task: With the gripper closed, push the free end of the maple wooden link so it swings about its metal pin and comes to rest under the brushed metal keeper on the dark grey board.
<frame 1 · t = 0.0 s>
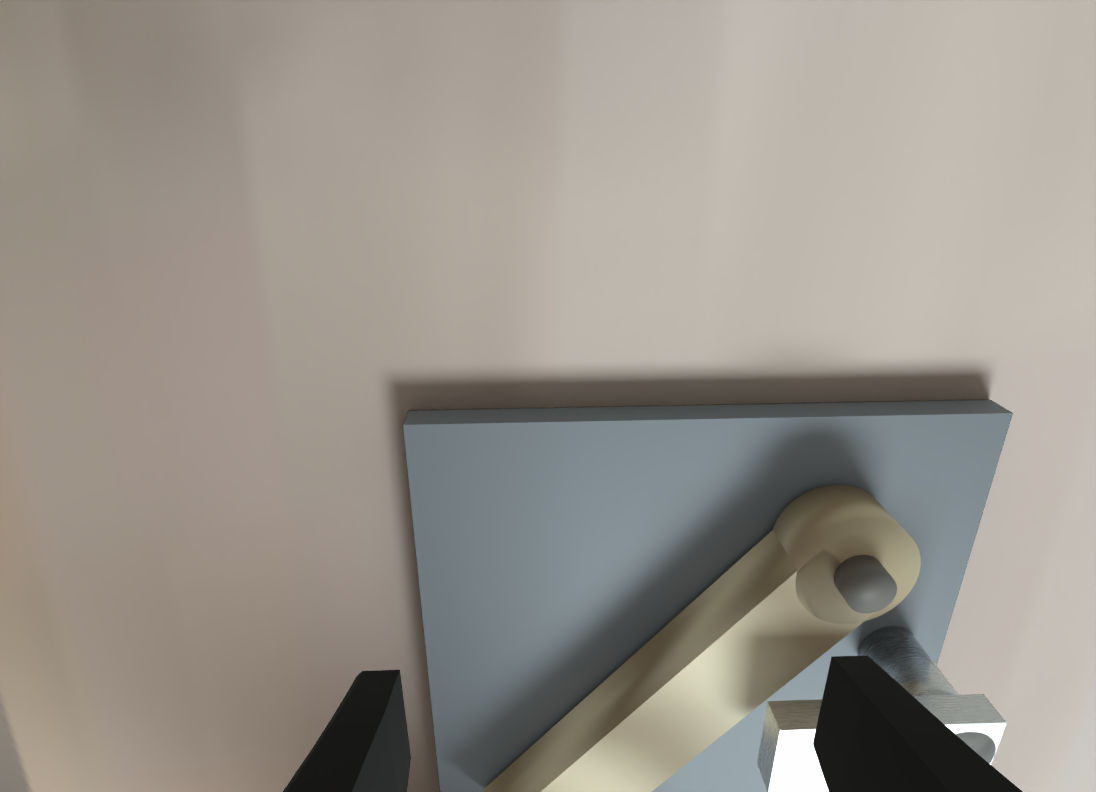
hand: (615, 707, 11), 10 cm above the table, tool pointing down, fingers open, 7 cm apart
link: (681, 702, 21), point 3 cm above the table, hinge at -40.0°
keeper: (872, 627, 24), resting on board
board: (678, 664, 24), on the table
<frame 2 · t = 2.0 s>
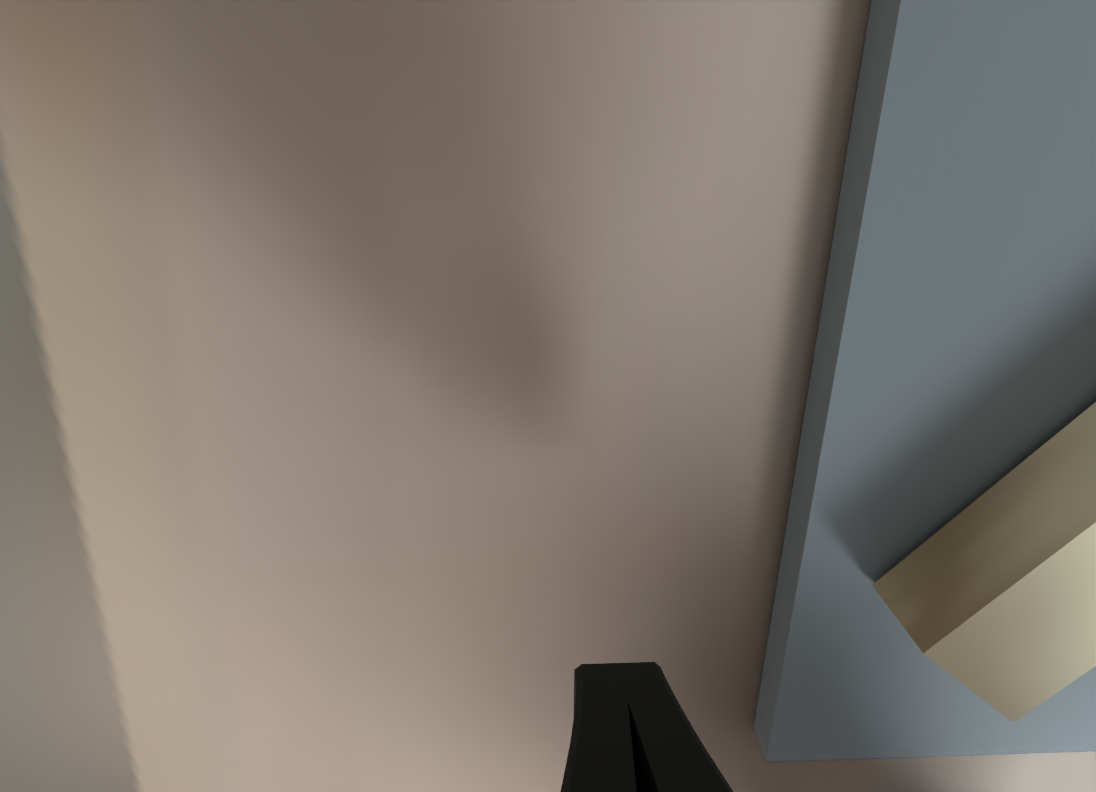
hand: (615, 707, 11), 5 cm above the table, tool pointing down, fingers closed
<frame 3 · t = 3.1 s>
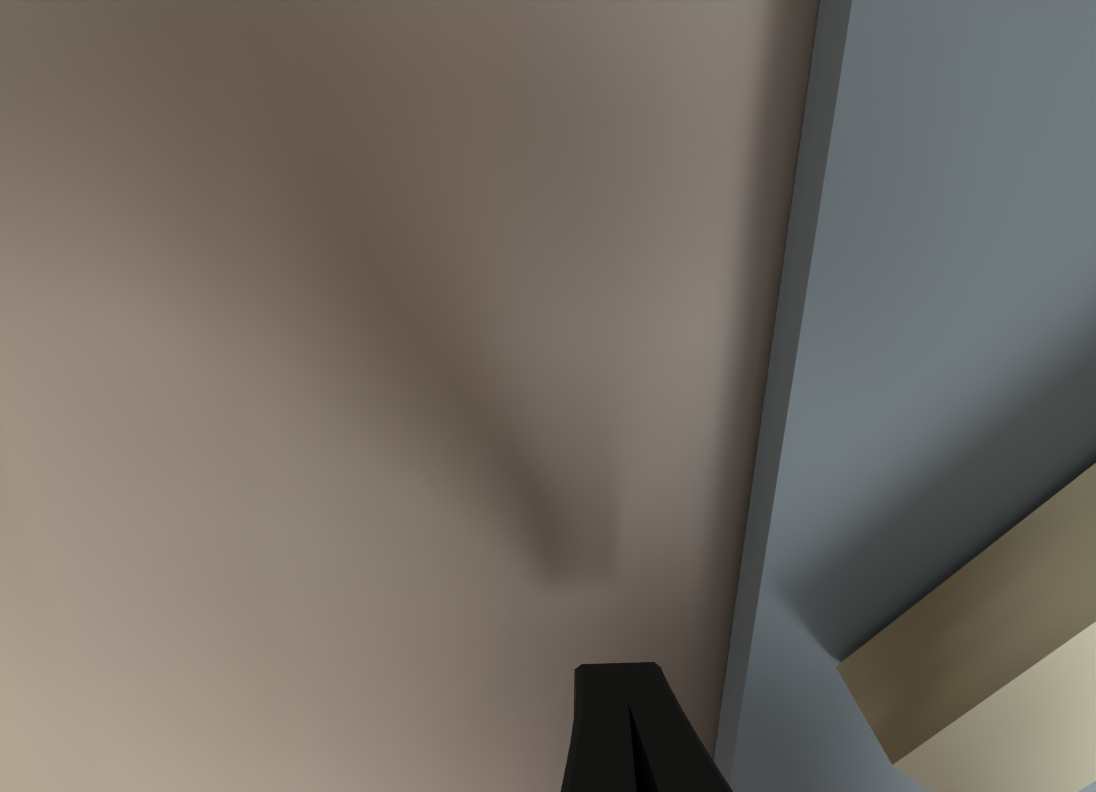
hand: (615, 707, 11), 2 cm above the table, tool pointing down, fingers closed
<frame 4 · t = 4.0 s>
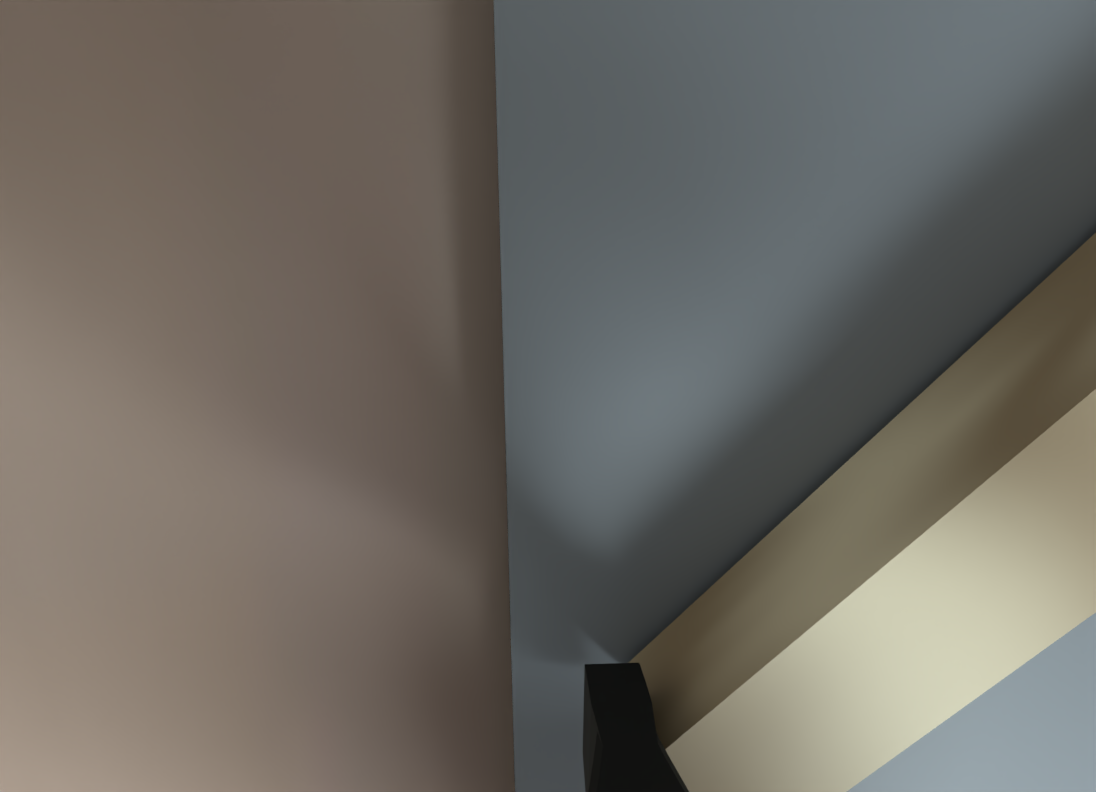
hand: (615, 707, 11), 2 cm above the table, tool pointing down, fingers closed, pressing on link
board: (1035, 381, 11), on the table
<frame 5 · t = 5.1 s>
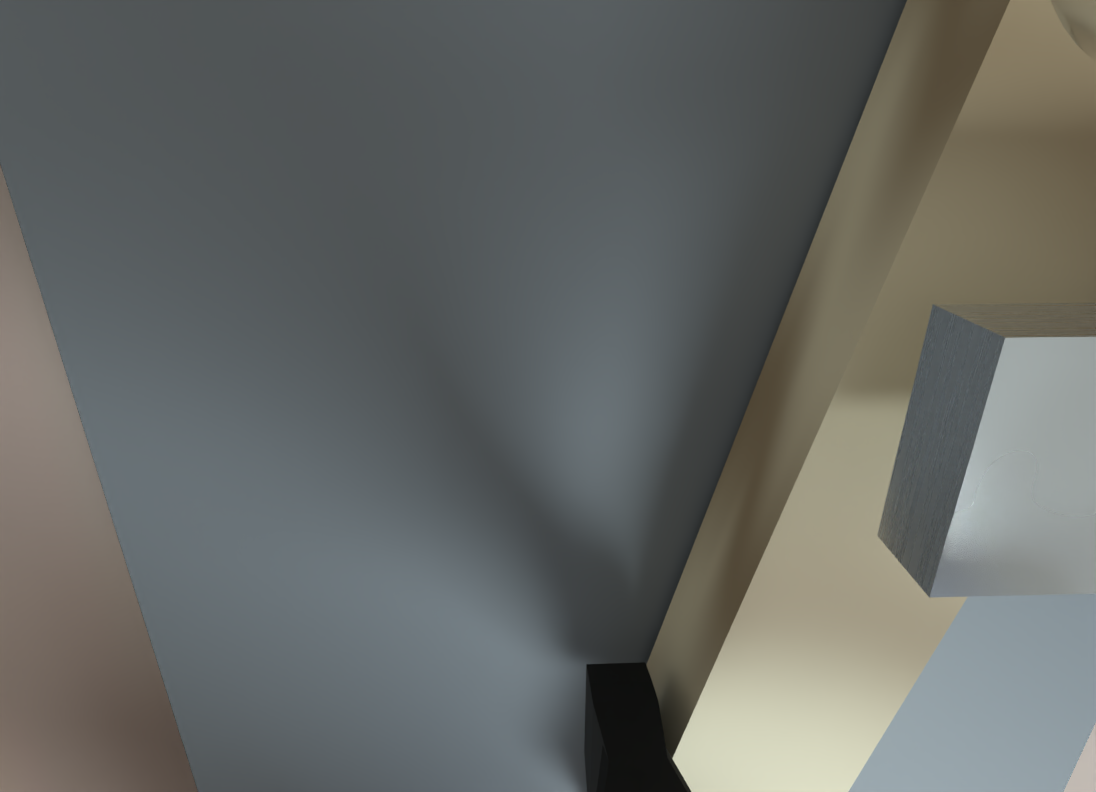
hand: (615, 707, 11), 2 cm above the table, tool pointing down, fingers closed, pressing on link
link: (870, 501, 9), point 3 cm above the table, hinge at -13.4°, touching gripper
keeper: (1095, 310, 11), resting on board
board: (664, 400, 11), on the table
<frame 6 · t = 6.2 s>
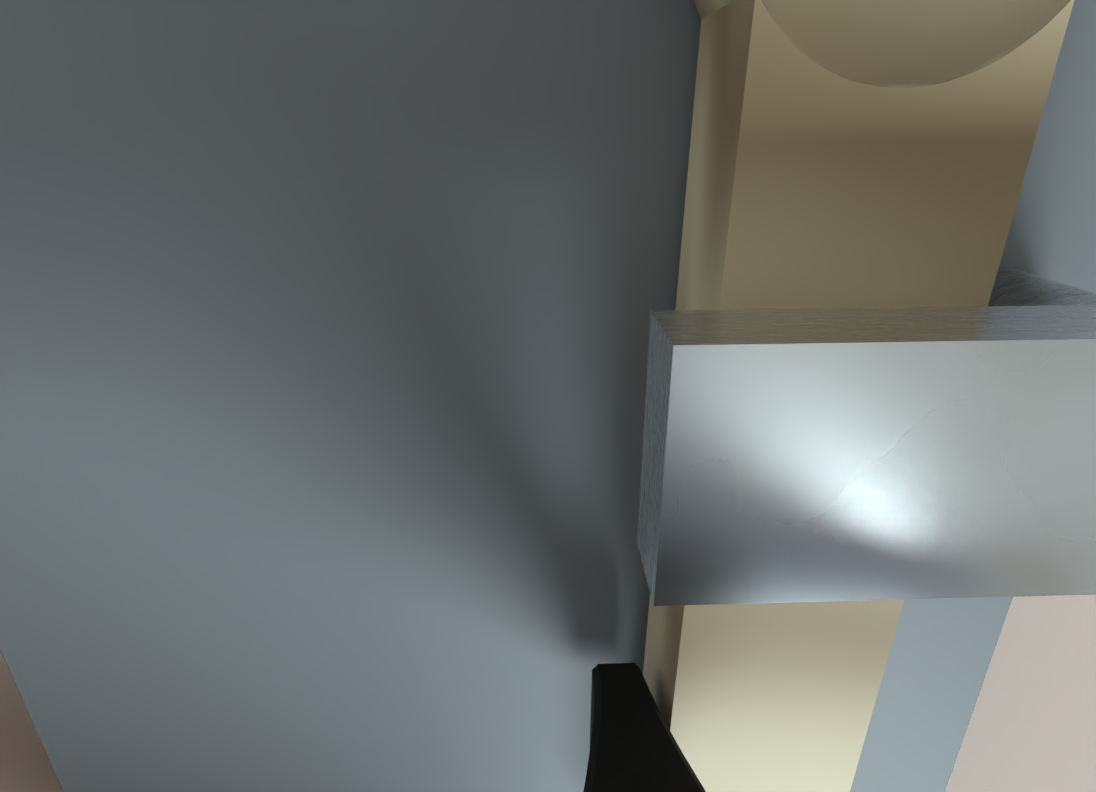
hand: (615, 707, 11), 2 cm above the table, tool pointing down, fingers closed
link: (789, 516, 9), point 3 cm above the table, hinge at -0.8°, touching gripper
keeper: (935, 313, 11), resting on board
board: (508, 404, 11), on the table
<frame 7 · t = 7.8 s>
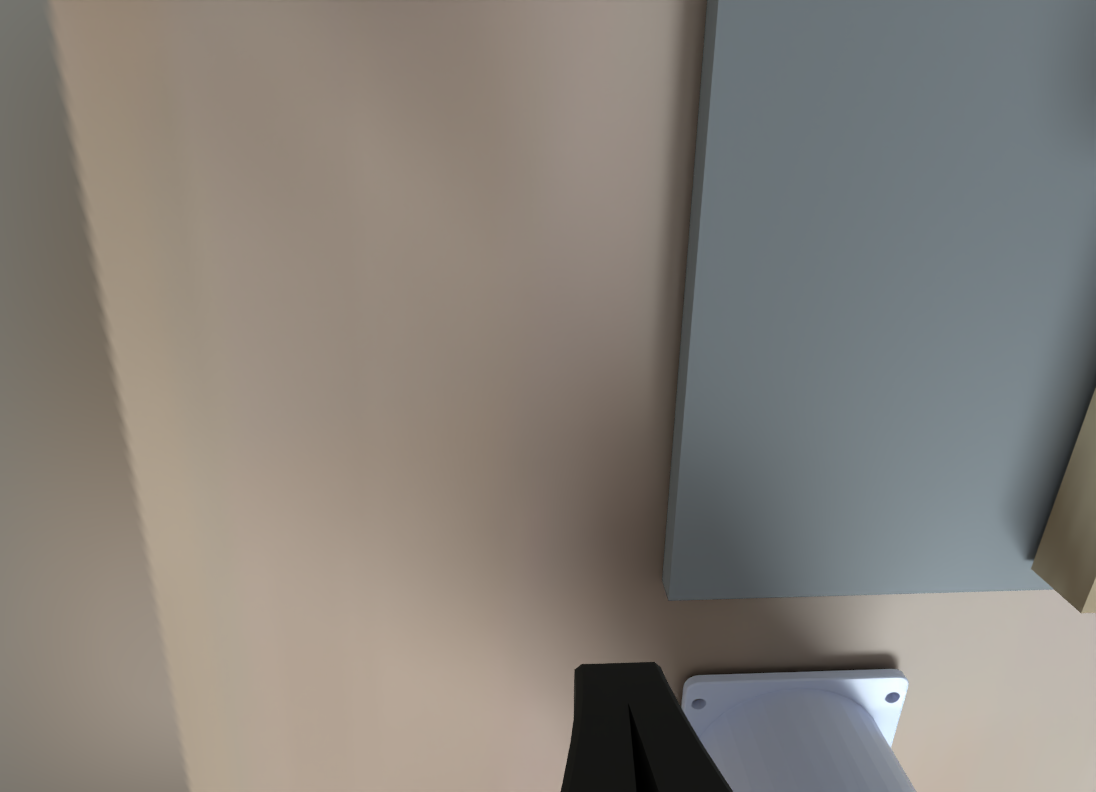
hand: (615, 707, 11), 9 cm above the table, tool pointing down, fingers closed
board: (1013, 260, 18), on the table
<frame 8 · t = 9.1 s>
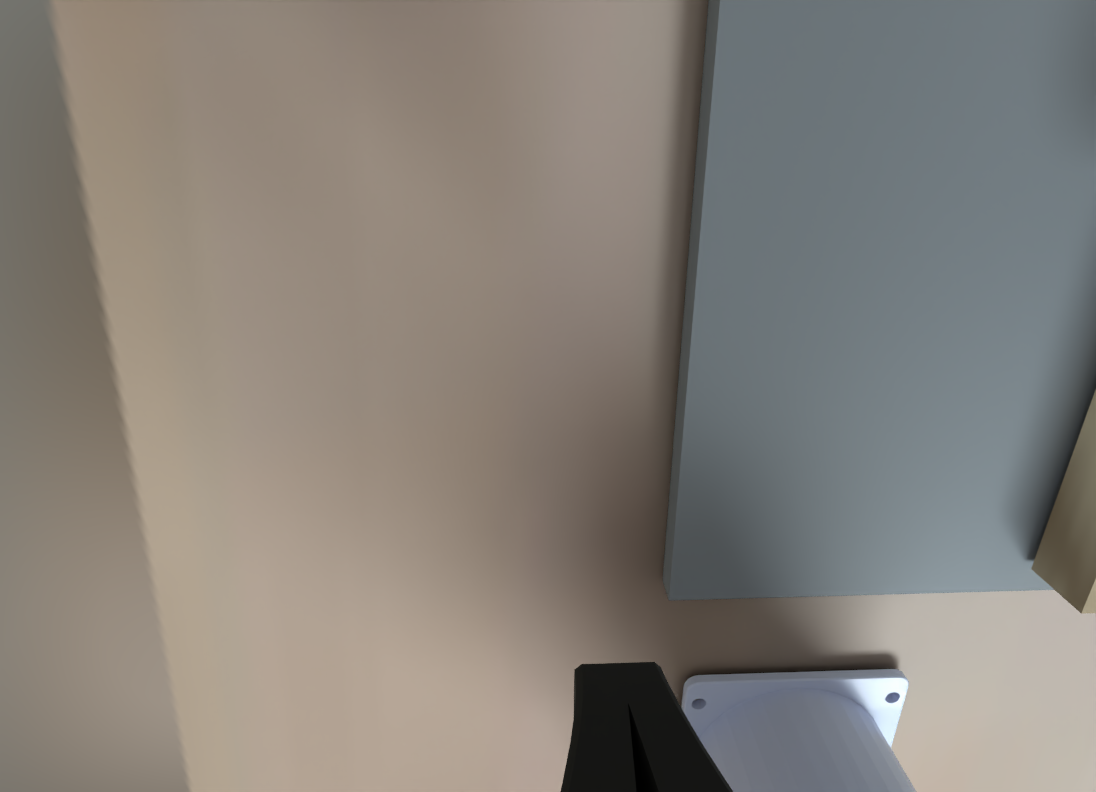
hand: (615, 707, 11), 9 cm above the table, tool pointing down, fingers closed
board: (1013, 260, 18), on the table
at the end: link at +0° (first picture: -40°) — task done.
